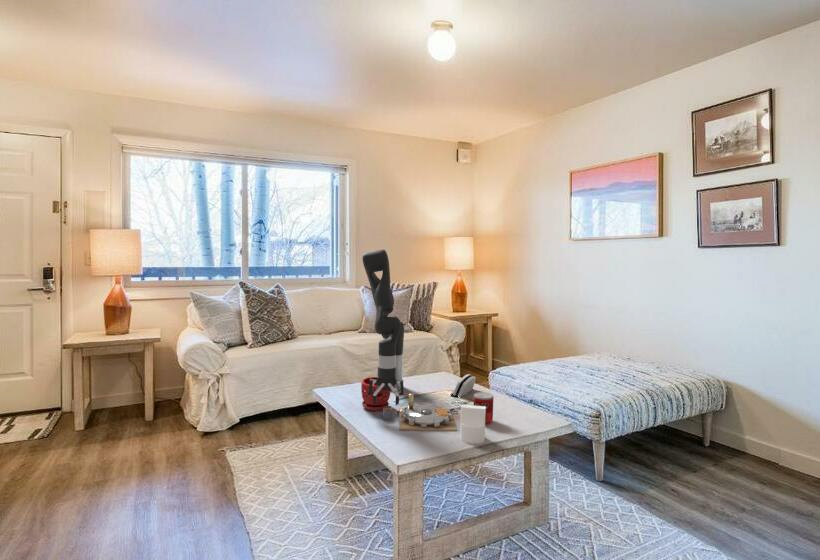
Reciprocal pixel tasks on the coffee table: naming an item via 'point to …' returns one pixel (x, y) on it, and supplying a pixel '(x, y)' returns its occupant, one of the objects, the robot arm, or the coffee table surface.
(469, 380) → the grey curved shell
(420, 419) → the sprocket
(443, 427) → the board
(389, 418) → the grey rectangular block
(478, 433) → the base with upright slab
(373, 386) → the plant pot
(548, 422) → the coffee table surface
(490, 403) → the canned food
